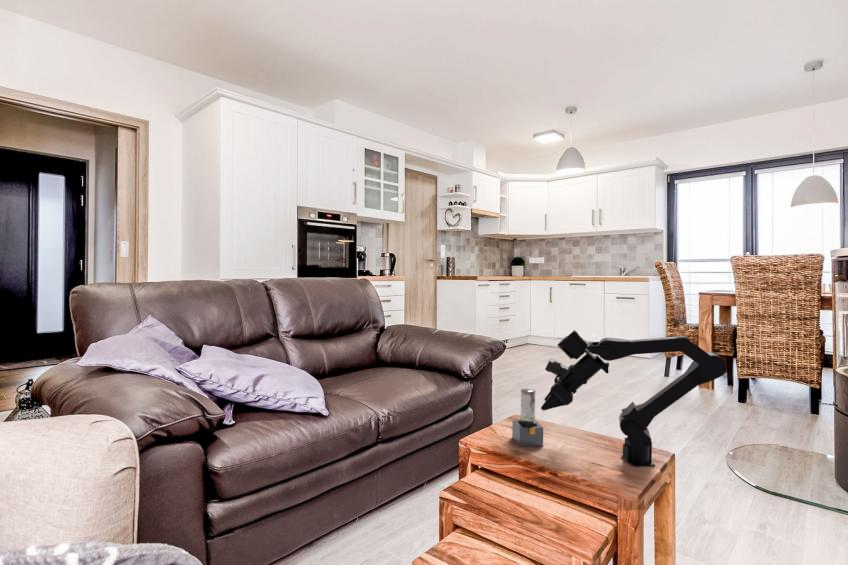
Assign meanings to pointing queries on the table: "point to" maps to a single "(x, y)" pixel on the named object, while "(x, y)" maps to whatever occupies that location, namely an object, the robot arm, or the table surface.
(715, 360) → the robot arm
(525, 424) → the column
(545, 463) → the table surface
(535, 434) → the stand collar
